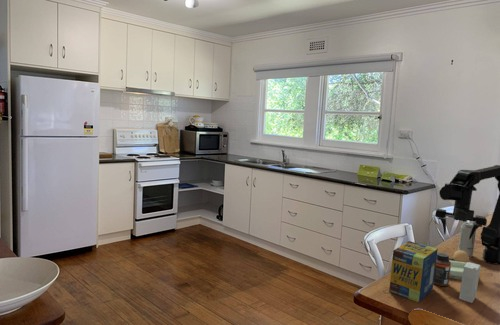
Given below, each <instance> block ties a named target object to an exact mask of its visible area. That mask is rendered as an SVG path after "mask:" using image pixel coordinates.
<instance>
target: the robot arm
mask: <svg viewBox="0 0 500 325" xmlns="http://www.w3.org/2000/svg"><path fill="white" fill-rule="evenodd" d="M491 178H494V179H495V180H496V181H497V189H498V197H497V200H496V203H495V207H494V210H493V213H492V216H491V218H490V222H489V224H488V225H487V222H488V219H487V217H486V216H483V215H477V214H475V210H473V209H472V210H471V203H472V202H471V201H472V196H473V192H474V191H475V192H476V191H477V188H476V185H477V184H479V183H480V182H481V181H483V180H488V179H491ZM439 197H440V199H442V200H443V201H454V204H453V212H448V211H447V209H442V208H436V209H435V213H434V214H435V215H434V217H436V218H437V219H438V220H440V221H441V224H442V229H443V234H444V235H446V233H447V217H448V218H453V220H455V221H462V223H464V222H468V221H469V222H472V223H473V225H472V229H471V232H470V235H469V239H471V237H472V236H473V234H474V232H475V231H477V229H478V228H482V229H481V230H482V231H481V233H480V240H481V246H484V249H483V251H482V259H483V261H485V263H486V264H493V265H500V165H499V164H495V165H492V166H488V167H483V168H479V169H460V170H458V171H457V173H456V174H455V175H454V177H453V178H452V179H451V181H450V182H449V183H447V182H446V183H444V185H443V186H442V187H441V188H440V190H439ZM474 214H475V216H474Z"/></svg>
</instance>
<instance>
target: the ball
mask: <svg viewBox="0 0 500 325" xmlns="http://www.w3.org/2000/svg"><path fill="white" fill-rule="evenodd" d="M452 258H454V260H453V261H457V262H465V263H467V262H468V261H469V260H470V257H469V255H468V254H467V253H466V252H465V251H462V250H459V251H458V250H456V251H455V252H454V253H453V257H452Z"/></svg>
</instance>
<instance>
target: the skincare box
mask: <svg viewBox="0 0 500 325" xmlns="http://www.w3.org/2000/svg"><path fill="white" fill-rule="evenodd" d="M480 271H481V264H477V263H473V262H472V263H470V262H467V263H466V265H465V266H464V270H463V276H462V280H461V284H460V289H459V297H458V300H462V301H463V302H464V301H465V302H468V303H471V304H472V303H474V301H475V299H476V296H477V292H478V287H479V286H478V285H479V282H478V279H479V280H480V273H481V272H480Z"/></svg>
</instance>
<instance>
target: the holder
mask: <svg viewBox="0 0 500 325" xmlns="http://www.w3.org/2000/svg"><path fill="white" fill-rule="evenodd" d="M449 260H450V261H455V260H454V258H453V257H449ZM468 262H470V263H473V262H472V260H470V259H469V261H468Z"/></svg>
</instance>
